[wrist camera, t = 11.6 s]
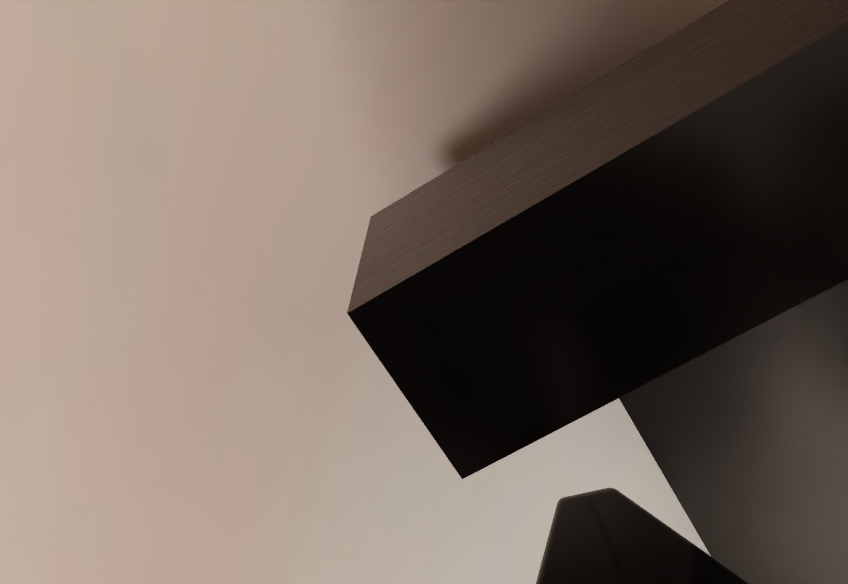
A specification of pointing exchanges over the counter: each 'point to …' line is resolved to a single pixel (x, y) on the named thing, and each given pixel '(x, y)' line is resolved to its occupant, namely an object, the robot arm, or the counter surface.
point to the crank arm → (652, 281)
